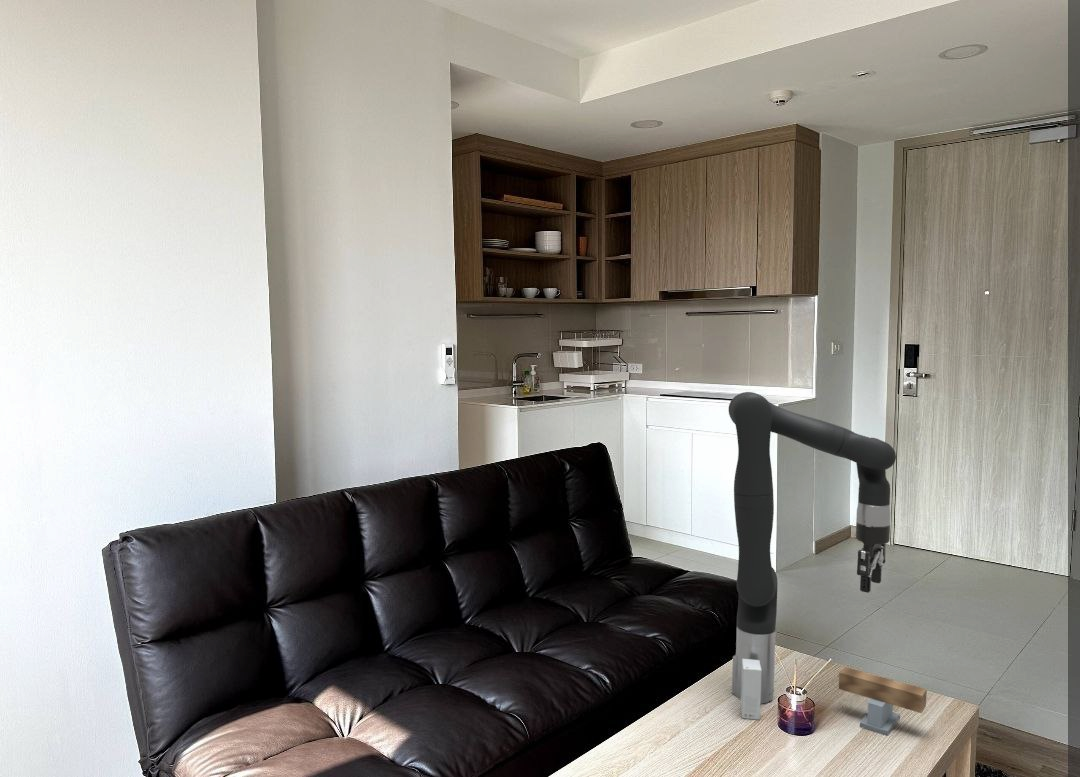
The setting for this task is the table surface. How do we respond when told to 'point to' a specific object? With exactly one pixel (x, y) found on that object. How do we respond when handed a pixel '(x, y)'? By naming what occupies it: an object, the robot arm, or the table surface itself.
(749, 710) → the skincare box
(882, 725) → the ridge block
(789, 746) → the table surface
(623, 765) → the table surface
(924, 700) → the walnut batten
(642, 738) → the table surface
